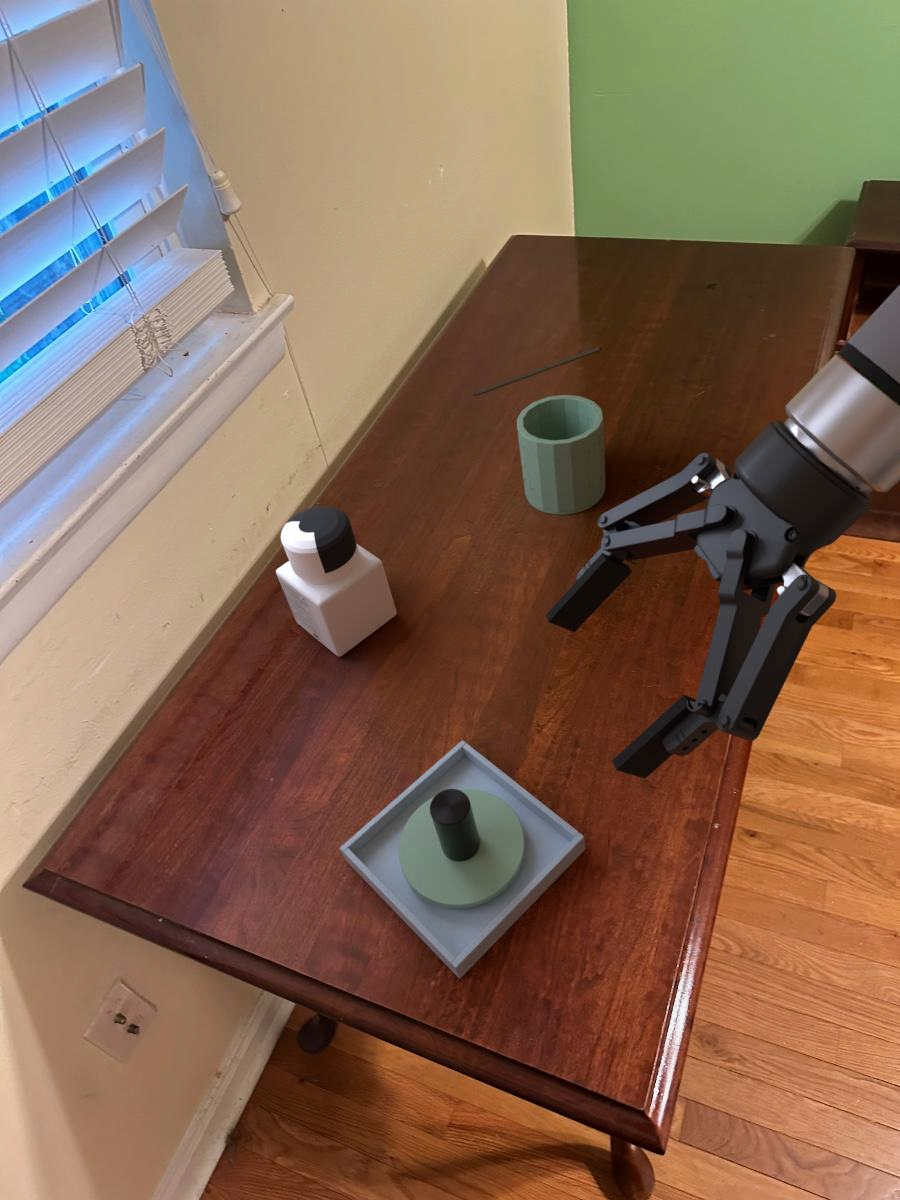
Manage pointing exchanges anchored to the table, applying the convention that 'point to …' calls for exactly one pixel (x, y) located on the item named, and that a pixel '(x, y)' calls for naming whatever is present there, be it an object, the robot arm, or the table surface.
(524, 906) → the tray
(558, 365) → the rod
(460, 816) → the lid
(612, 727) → the table surface
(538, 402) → the faceted green cup
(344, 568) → the container
